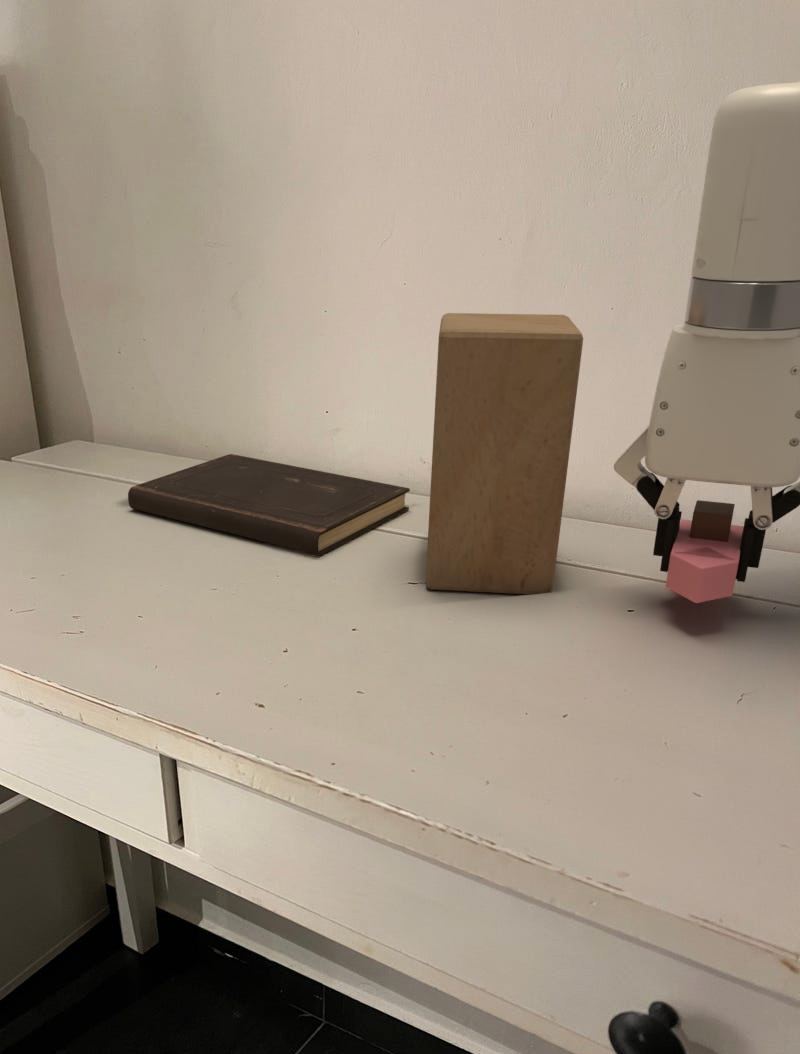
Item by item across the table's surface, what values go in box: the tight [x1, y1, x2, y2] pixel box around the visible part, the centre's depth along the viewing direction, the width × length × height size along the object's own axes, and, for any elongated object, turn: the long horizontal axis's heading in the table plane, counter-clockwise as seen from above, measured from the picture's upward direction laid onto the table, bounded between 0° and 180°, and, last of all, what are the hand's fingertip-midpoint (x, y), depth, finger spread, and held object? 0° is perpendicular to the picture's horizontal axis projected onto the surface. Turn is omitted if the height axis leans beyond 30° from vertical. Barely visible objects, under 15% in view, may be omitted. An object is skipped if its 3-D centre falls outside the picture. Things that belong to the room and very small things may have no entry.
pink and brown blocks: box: [665, 499, 744, 604], centre depth 65 cm, size 10×4×5 cm, turn 155°
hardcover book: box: [127, 453, 411, 557], centre depth 91 cm, size 16×23×2 cm
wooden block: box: [424, 312, 584, 595], centre depth 72 cm, size 10×10×20 cm
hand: (703, 567), depth 67 cm, fingers closed on pink and brown blocks, 4 cm apart
